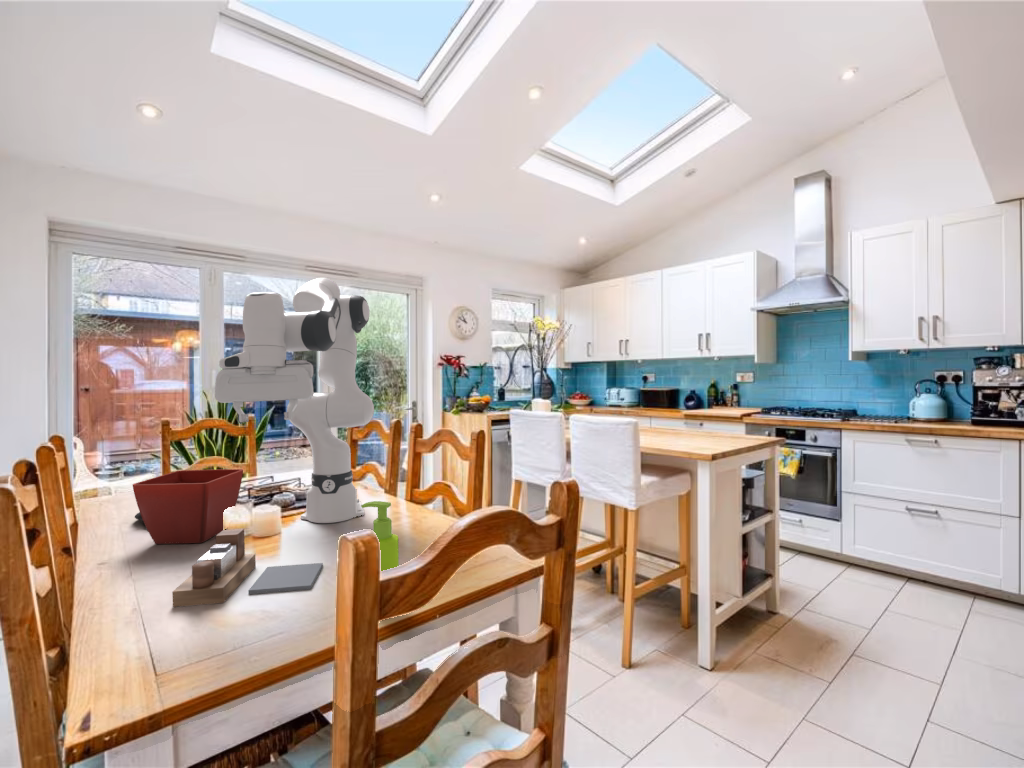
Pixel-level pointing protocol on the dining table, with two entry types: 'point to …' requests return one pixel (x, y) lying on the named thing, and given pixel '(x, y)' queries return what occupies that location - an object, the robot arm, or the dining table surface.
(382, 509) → the soap dispenser
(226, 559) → the lever cap
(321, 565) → the slate mat
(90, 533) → the dining table surface
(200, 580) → the body
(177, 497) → the plant pot
